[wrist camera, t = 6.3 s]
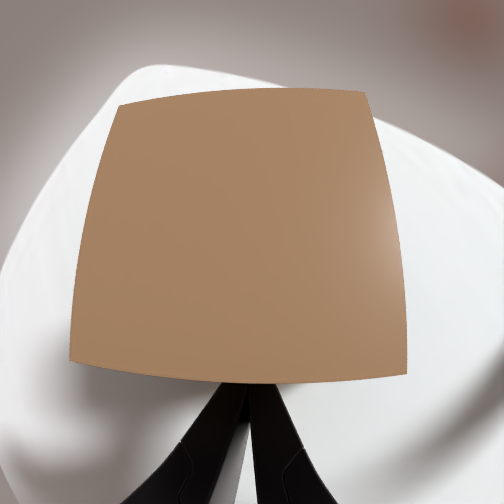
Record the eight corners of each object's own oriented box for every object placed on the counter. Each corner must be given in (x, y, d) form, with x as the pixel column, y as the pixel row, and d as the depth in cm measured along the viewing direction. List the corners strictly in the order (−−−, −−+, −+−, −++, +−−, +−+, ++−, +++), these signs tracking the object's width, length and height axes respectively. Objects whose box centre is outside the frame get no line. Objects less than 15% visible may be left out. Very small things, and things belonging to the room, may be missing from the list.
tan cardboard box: (309, 351, 15) (406, 373, 3) (214, 350, 15) (69, 360, 4) (307, 259, 16) (365, 92, 5) (217, 259, 17) (119, 105, 5)
